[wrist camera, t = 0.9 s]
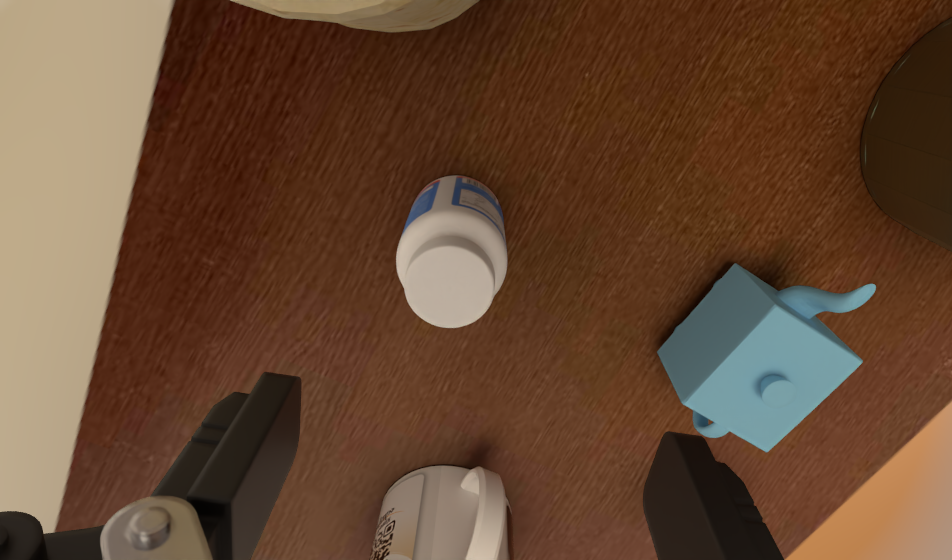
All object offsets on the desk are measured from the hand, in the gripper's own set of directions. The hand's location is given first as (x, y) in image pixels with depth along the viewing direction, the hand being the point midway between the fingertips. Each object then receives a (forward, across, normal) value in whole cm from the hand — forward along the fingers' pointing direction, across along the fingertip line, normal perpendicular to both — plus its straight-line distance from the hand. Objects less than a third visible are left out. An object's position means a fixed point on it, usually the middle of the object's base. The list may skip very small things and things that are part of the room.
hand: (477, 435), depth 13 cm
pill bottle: (+23, +1, +3) cm, 23 cm away
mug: (+22, -2, +25) cm, 34 cm away
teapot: (+23, -17, +6) cm, 29 cm away
